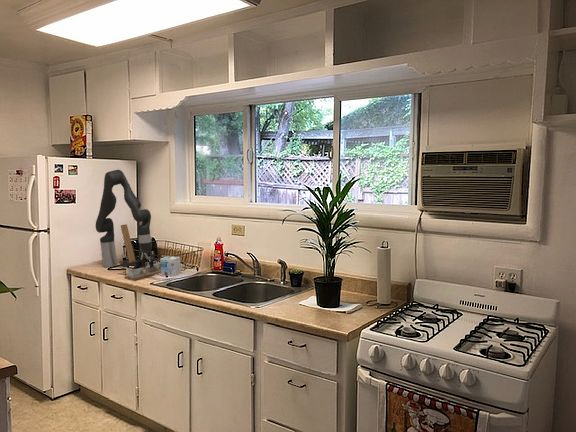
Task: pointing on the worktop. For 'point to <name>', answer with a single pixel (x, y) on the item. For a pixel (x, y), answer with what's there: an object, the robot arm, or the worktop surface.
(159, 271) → the tool board
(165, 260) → the light bulb box
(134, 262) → the hammer
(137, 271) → the spanner
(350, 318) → the worktop surface
